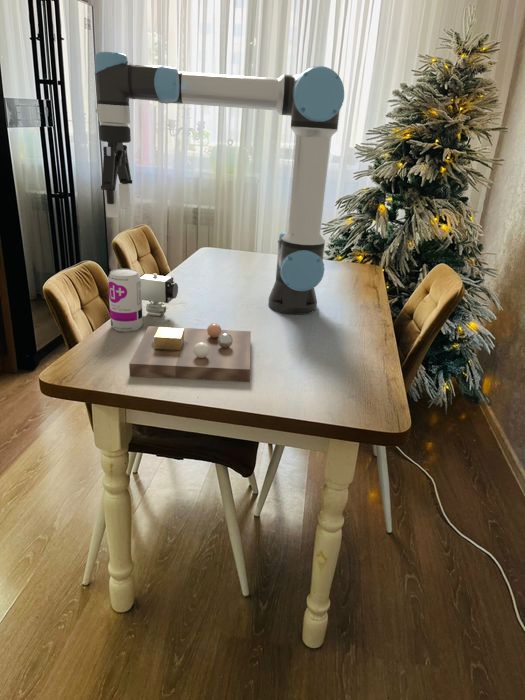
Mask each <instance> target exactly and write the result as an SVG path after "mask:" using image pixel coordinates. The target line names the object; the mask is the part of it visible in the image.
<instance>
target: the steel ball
mask: <svg viewBox="0 0 525 700" xmlns="http://www.w3.org/2000/svg"><path fill="white" fill-rule="evenodd" d="M232 342H233V339H232V337H231V336H230V335H229V334H227V333H224V334H221V335H220V336H219V338H218V344H219V346H220V347H222V348H228V347H230V346H231V345H232Z"/></svg>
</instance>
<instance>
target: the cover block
mask: <svg viewBox="0 0 525 700" xmlns="http://www.w3.org/2000/svg"><path fill="white" fill-rule="evenodd" d="M158 327H159V328H158V330H157V332H156V334H155V336H154V346H155V349H165V350H181V348H182V345H183V342H184V328H185V327H176V328H165V327H166V326H158Z"/></svg>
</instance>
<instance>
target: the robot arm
mask: <svg viewBox="0 0 525 700" xmlns="http://www.w3.org/2000/svg"><path fill="white" fill-rule="evenodd" d="M94 77H95V88H96V100H97V101H96V103H97V108H95V113H97V118H98V122H99V123H100V124H99V126H98V134H99V135H98V136H99V140H100V141H101V142H105V143H106V142H107V146H103V160H102V161H103V163H102V175H101V177H102V178H101V185H100V189H101V190H102V191H104V195H105V197H104V199H105V210H106V211H105V214H106V215H105V216H106V218H116V219H117V218H119V209H121V210H130V209H131V192H130V185H131V184H133V179H132V176H131V169H130V164H129V157H128V146H127V145H126V143H127V144H128V143H131V141H132V138H131V128H130V126H129V125H130V124H131V114H130V112H131V110H130V100H131V99H132V100H141V101H142V100H143V101H152V102H157V103H160V104H177V105H178V104H179V105H181V104H182V105H194V106H195V105H198V106H209V107H210V106H211V107H224V108H237V109H239V108H240V109H252V110H254V109H255V110H263V111H264V110H267V111H277V113H278V114H279V115H280V116H290V118H291V119H290V129H291V131H292V132H293V133H294V134H295V145H294V155H293V156H294V157H293V166H292V167H293V170H292V178H291V179H292V181H291V193H290V204H289V218H288V229H287V231H282V232H280V233H279V235H278V241H277V244H278V245H277V246H278V247H277V260H276V270H275V271H276V272H275V282H274V284H273V287H272V289H271V291H270V293H269V296H268V307H269V308H270V309H272V310H274V311H276V312H279V313H283V314H288V315H289V314H290V315H305V314H311V313H314V312H315V311H316V310H317V309H318V307H317V305H318V300H317V295H316V291H315V290H316V289H315V288H316V287H317V286H318V285H319V284H320V283H321V281H322V280H323V277H324V274H325V263H324V261H323V260H324V251H325V243H326V240H325V239H324V238H323V236H322V234H321V229H322V227H321V226H322V219H323V210H324V209H323V207H324V200H325V192H326V182H327V181H326V180H327V173H328V172H327V171H328V163H329V162H328V161H329V153H330V144H331V139H332V137H333V136H334V134H336V133H337V132H338V126H339V118H340V110H341V109H342V106H343V104H344V101H345V87H344V86H345V85H344V83H343V81H342V79H341V77H340V76H339V74H338V73H337V72H336V71H335V70H333V69H331V68H330V67H327V66H322V65H319V66H317V65H315V66H311V67H308V68H306V69H305V70H304V71H302V72H301V73H300V74H298V73H297V74H285V73H283V74H282V75H281V76H280V77H278V78H276V77H263V76H262V77H259V76H248V75H247V76H245V75H233V74H232V75H231V74H230V75H229V74H216V73H215V74H214V73H204V72H203V73H202V72H189V71H188V72H187V71H178V69H177V68H176V67H173V66H172V67H171V66H166V65H162V64H161V65H151V64H150V65H149V64H135V63H130V62H129V60H128V56H127V55H126V54H125V53H122V52H121V53H120V52H114V51H98V52H97V53H95V56H94ZM117 179H118V180H119V183H118V190H116V189H117V188H116V187H117ZM118 195H119V199H118ZM118 201H119V206H118ZM118 208H119V209H118Z"/></svg>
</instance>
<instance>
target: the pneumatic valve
mask: <svg viewBox="0 0 525 700" xmlns="http://www.w3.org/2000/svg"><path fill="white" fill-rule="evenodd" d="M140 277H141V293H142V301H149V303H147V304H146V306H145V309H146V312H147V315H148V316H151V317H152V316H153V317H158V318H159V317H162V315H165V314H166V312H167V306H166V305H165V304H169V303H170V302H171V301H173V299H176V298H177V296H178V293H179V286H178V283H176V282H175V280H174V276H164V275H158V274H157V273H153V274H149V273H148V274H147V273H143V274H141V275H140Z"/></svg>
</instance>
